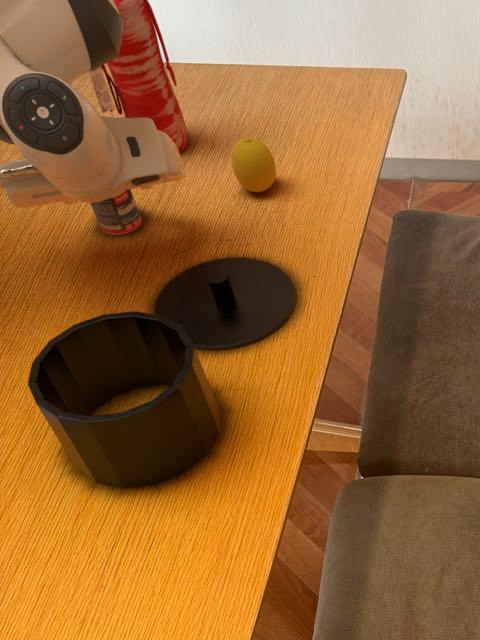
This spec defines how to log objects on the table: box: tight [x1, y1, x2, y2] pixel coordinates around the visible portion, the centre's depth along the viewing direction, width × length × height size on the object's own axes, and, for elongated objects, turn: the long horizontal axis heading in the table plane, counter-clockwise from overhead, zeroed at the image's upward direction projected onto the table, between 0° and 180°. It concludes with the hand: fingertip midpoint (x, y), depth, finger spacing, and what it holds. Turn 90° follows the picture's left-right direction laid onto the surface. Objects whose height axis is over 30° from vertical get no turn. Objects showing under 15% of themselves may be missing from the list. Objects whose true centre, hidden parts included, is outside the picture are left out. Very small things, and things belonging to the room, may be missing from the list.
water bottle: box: [87, 0, 188, 154], centre depth 119 cm, size 12×8×25 cm, turn 93°
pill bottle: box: [89, 189, 143, 236], centre depth 115 cm, size 5×5×9 cm
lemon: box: [231, 136, 277, 193], centre depth 120 cm, size 6×6×8 cm
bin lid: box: [154, 256, 297, 352], centre depth 108 cm, size 17×17×5 cm
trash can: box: [27, 310, 221, 489], centre depth 93 cm, size 16×16×10 cm
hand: (108, 189), depth 114 cm, fingers open, 8 cm apart
